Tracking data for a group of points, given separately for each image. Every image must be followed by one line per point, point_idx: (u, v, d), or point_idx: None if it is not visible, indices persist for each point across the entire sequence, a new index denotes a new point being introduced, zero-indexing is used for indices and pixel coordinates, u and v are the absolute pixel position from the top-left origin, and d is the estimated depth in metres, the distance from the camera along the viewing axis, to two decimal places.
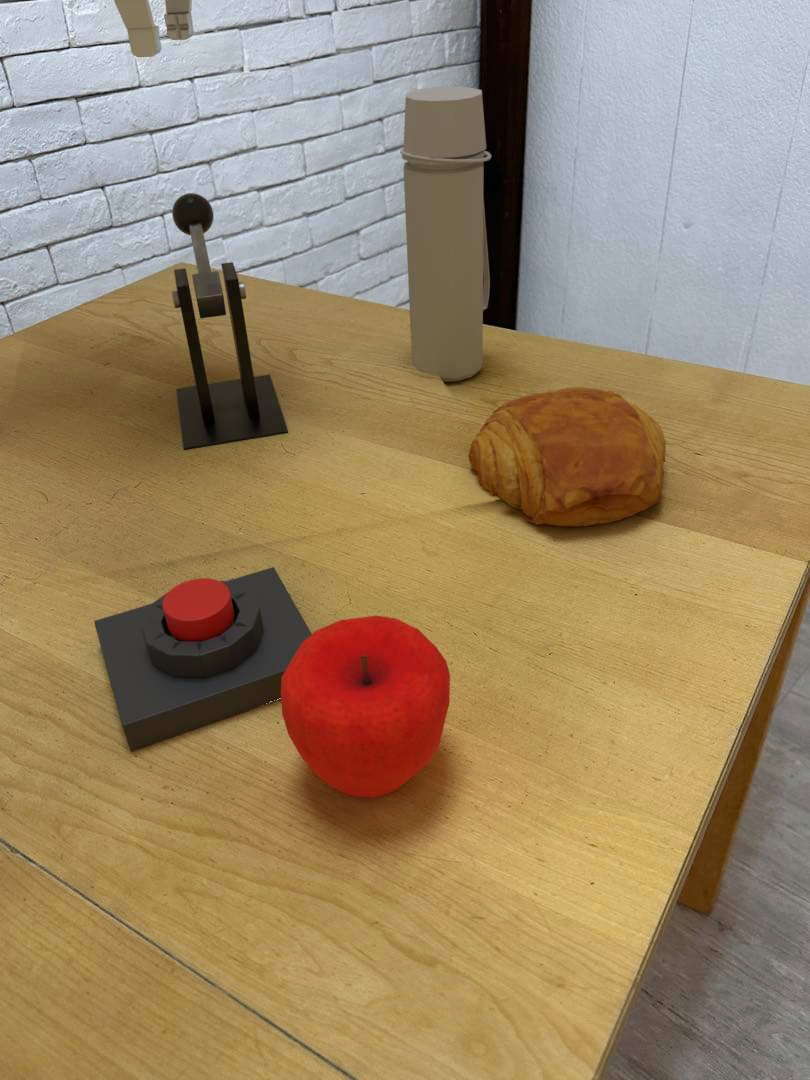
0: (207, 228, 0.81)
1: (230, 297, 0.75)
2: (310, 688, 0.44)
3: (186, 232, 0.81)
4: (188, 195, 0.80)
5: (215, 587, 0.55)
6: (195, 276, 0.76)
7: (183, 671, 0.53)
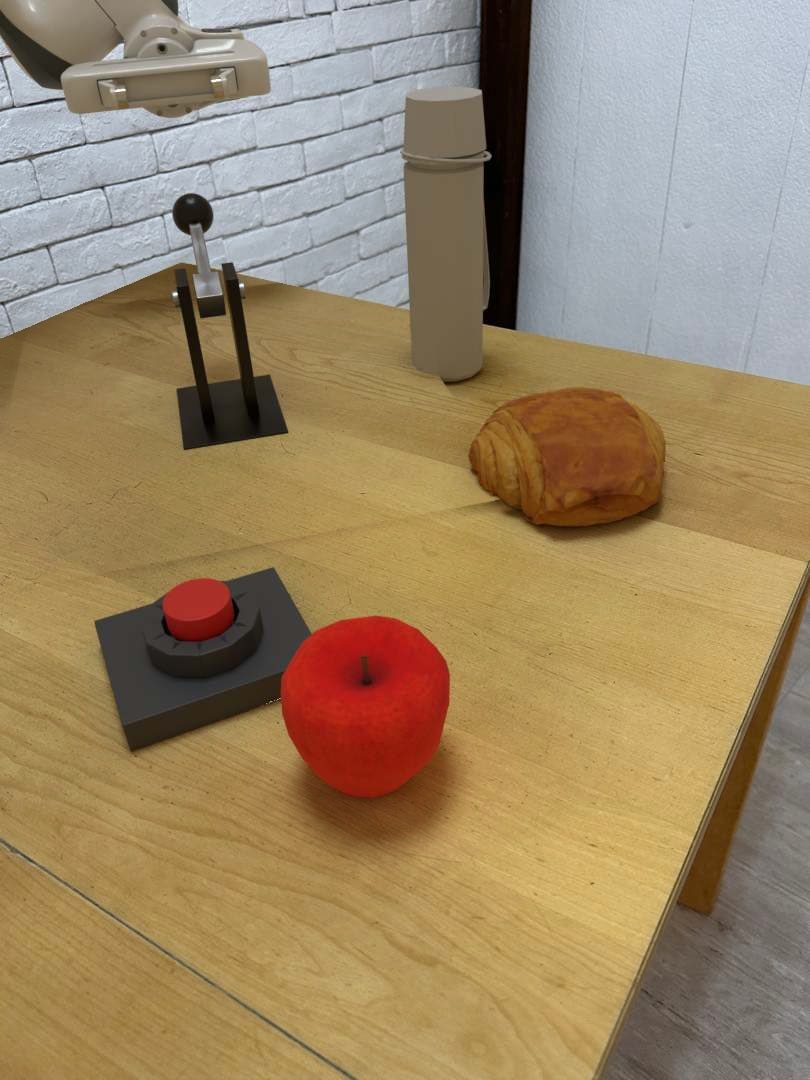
0: (207, 228, 0.81)
1: (230, 297, 0.75)
2: (310, 688, 0.44)
3: (186, 232, 0.81)
4: (188, 195, 0.80)
5: (215, 587, 0.55)
6: (195, 276, 0.76)
7: (183, 671, 0.53)
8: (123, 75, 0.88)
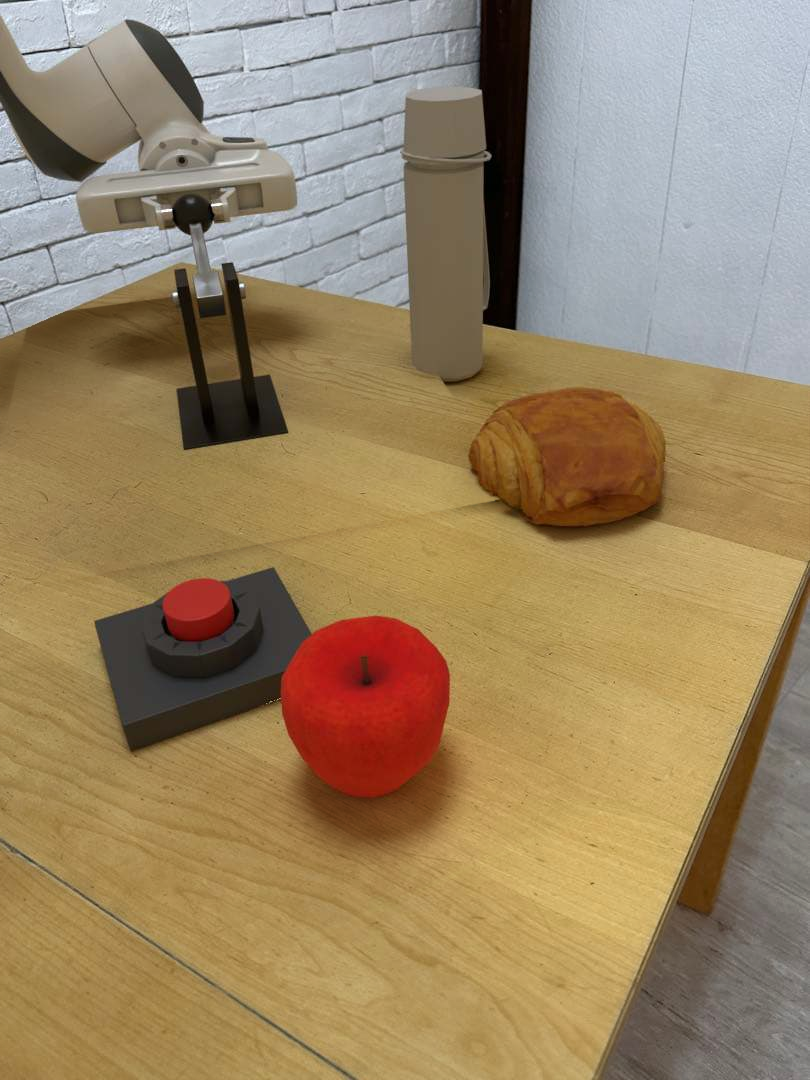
0: (207, 228, 0.81)
1: (230, 297, 0.75)
2: (310, 688, 0.44)
3: (186, 232, 0.81)
4: (188, 195, 0.80)
5: (215, 587, 0.55)
6: (195, 276, 0.76)
7: (183, 671, 0.53)
8: (142, 194, 0.82)
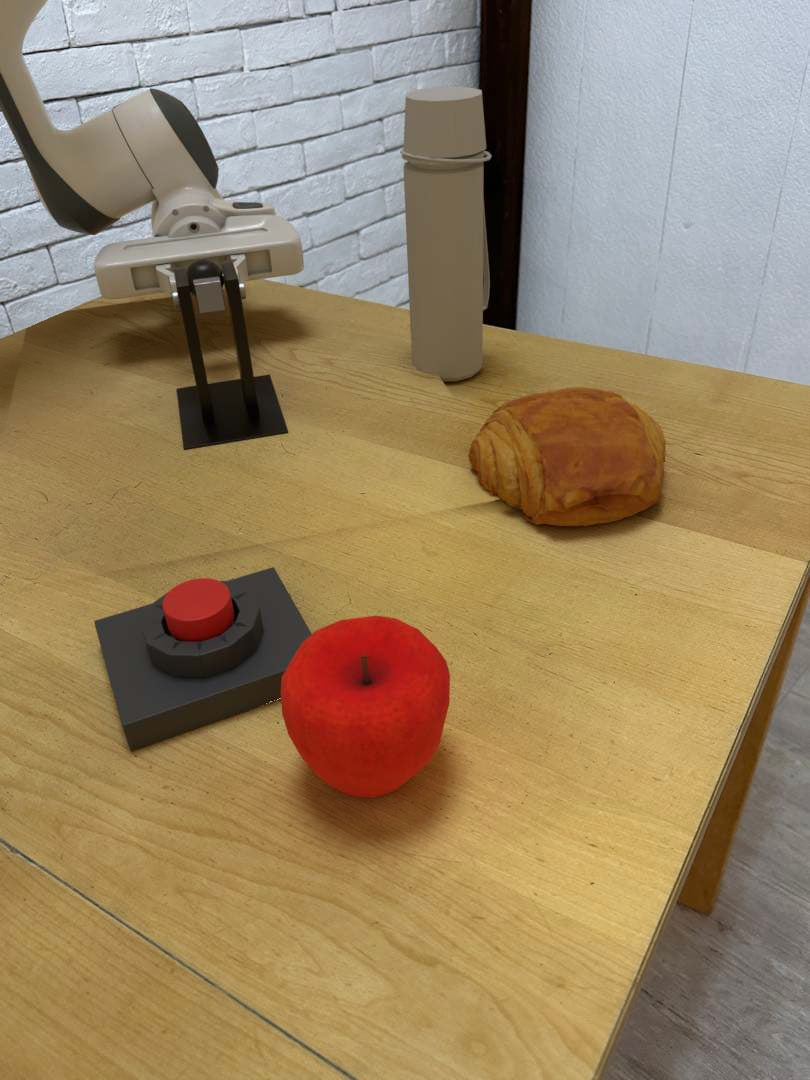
0: None
1: (230, 297, 0.75)
2: (310, 688, 0.44)
3: None
4: None
5: (215, 587, 0.55)
6: (196, 279, 0.77)
7: (183, 671, 0.53)
8: (157, 262, 0.87)
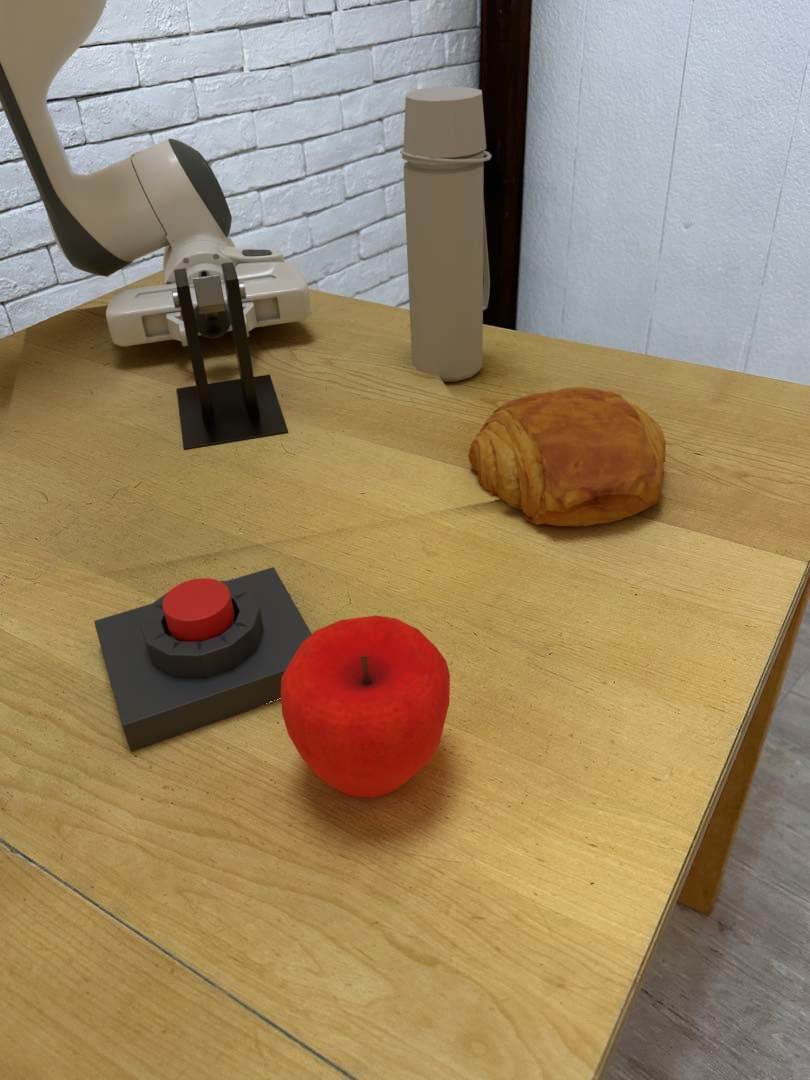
0: (223, 320, 0.85)
1: (230, 297, 0.75)
2: (310, 688, 0.44)
3: (203, 323, 0.85)
4: None
5: (215, 587, 0.55)
6: None
7: (183, 671, 0.53)
8: (167, 311, 0.89)
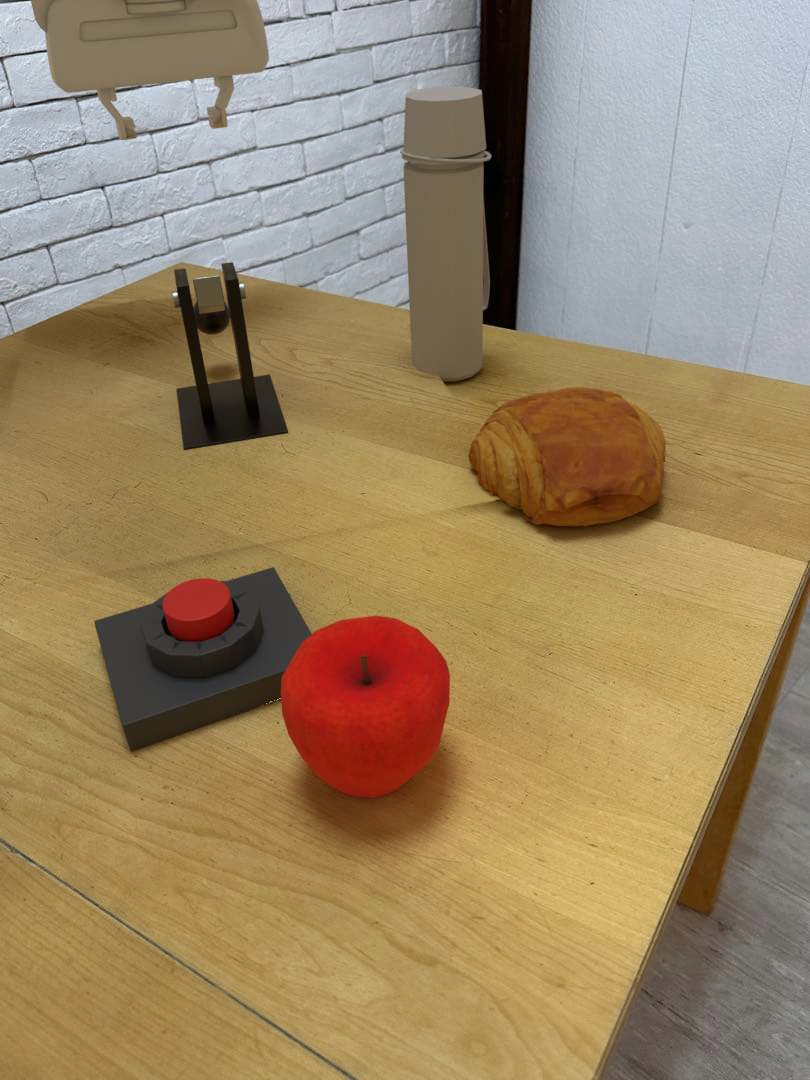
0: (223, 317, 0.85)
1: (230, 297, 0.75)
2: (310, 688, 0.44)
3: (203, 320, 0.85)
4: None
5: (215, 587, 0.55)
6: None
7: (183, 671, 0.53)
8: (124, 86, 0.84)
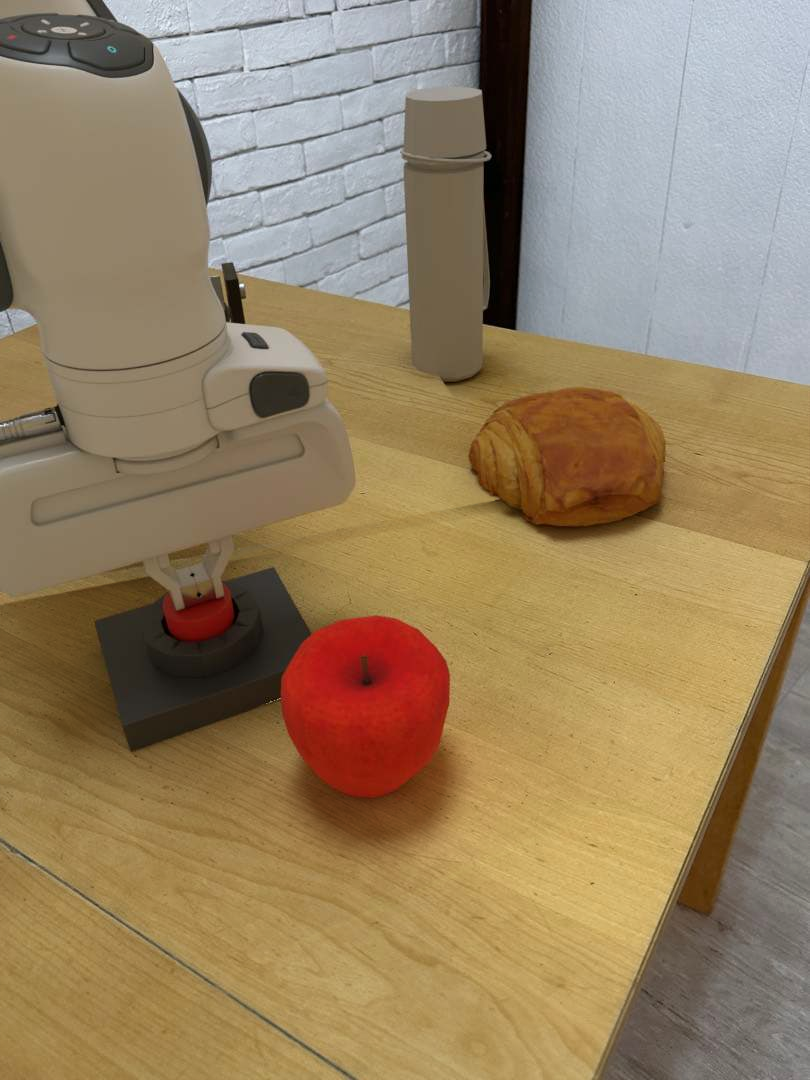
0: None
1: (230, 297, 0.75)
2: (310, 688, 0.44)
3: None
4: None
5: None
6: None
7: (183, 671, 0.53)
8: None
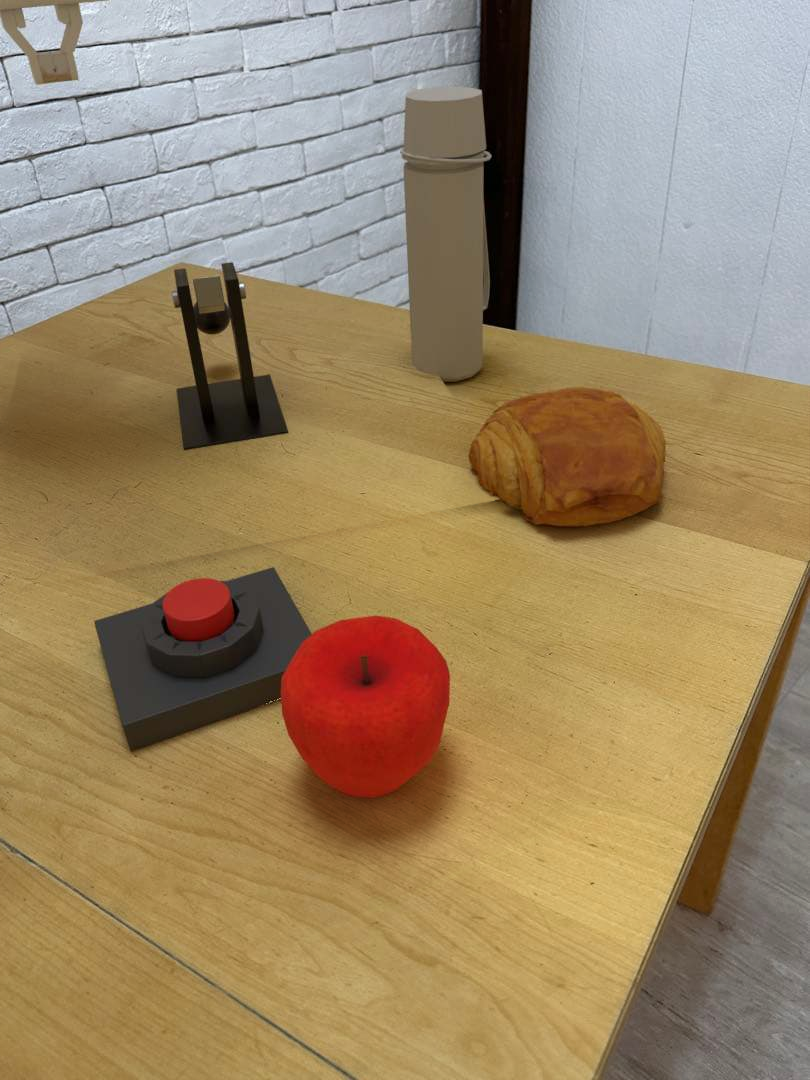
0: (223, 317, 0.85)
1: (230, 297, 0.75)
2: (310, 688, 0.44)
3: (203, 320, 0.85)
4: None
5: (215, 587, 0.55)
6: None
7: (183, 671, 0.53)
8: None
